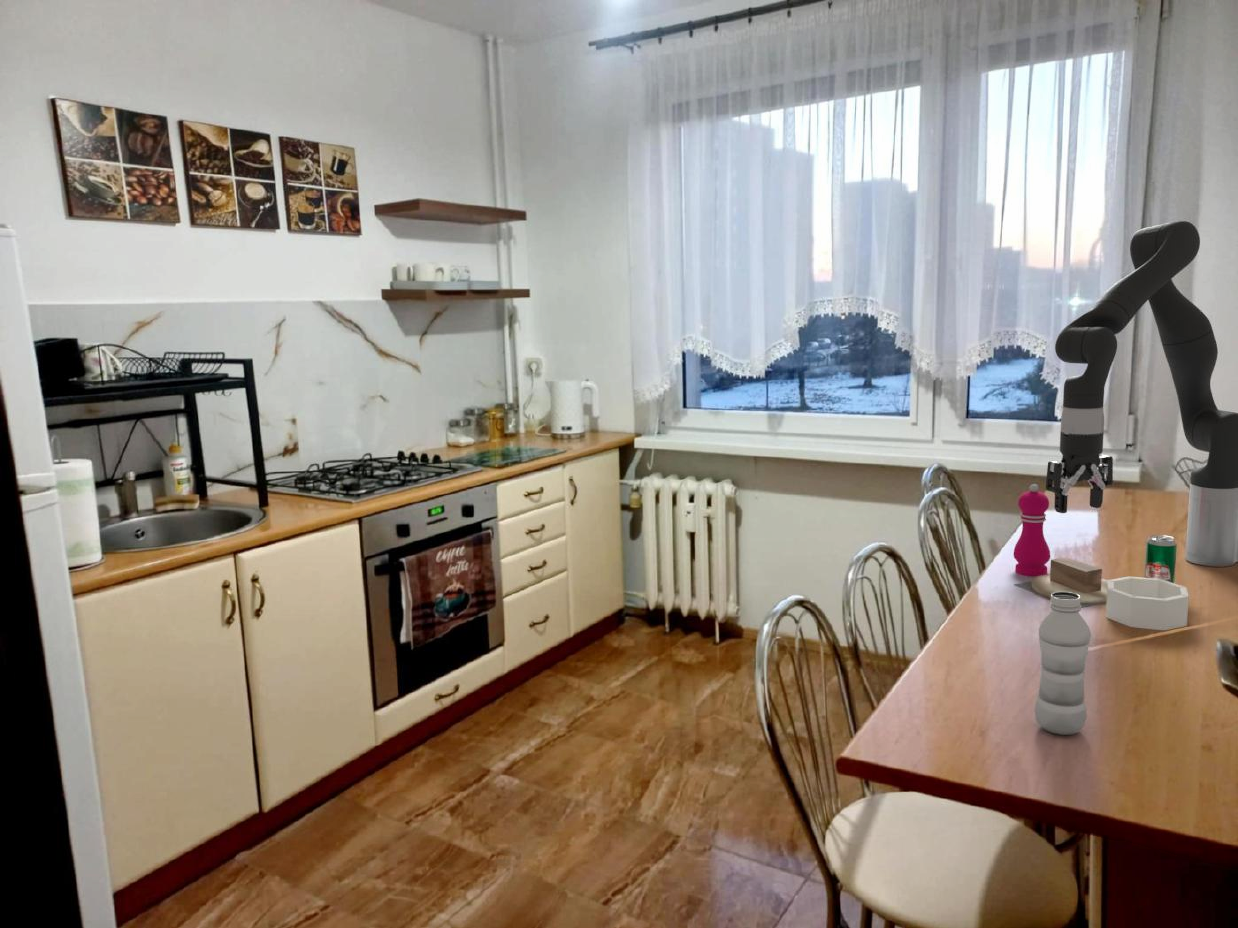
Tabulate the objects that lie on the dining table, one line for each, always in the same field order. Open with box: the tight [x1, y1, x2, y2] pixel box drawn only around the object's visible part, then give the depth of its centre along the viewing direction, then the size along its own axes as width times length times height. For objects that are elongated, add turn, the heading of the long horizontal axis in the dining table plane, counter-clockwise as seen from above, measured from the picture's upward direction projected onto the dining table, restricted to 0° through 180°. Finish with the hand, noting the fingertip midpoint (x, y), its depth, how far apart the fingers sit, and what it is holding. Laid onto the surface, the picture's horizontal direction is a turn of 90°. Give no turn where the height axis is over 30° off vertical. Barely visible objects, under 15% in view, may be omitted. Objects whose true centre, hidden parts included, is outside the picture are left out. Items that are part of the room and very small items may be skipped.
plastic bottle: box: [1034, 592, 1092, 736], centre depth 123 cm, size 6×7×20 cm
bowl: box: [1105, 575, 1190, 631], centre depth 162 cm, size 13×13×6 cm
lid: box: [1031, 556, 1108, 604], centre depth 177 cm, size 16×16×6 cm
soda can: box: [1143, 534, 1178, 583], centre depth 172 cm, size 5×5×12 cm
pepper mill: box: [1013, 483, 1051, 578], centre depth 189 cm, size 7×7×20 cm
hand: (1078, 509), depth 175 cm, fingers open, 8 cm apart
